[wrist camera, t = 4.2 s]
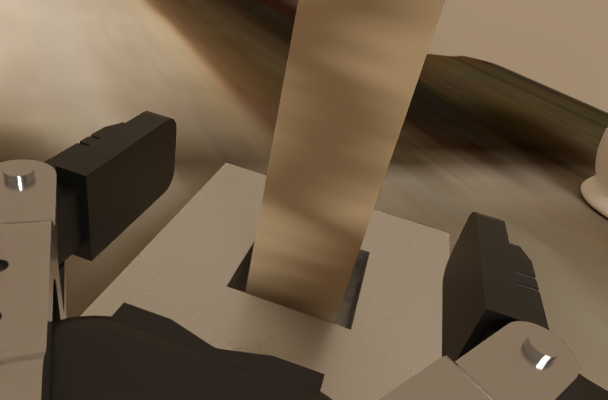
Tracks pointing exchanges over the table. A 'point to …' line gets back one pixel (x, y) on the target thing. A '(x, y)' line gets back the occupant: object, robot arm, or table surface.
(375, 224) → the socket block
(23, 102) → the table surface
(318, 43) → the peg
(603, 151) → the jar
